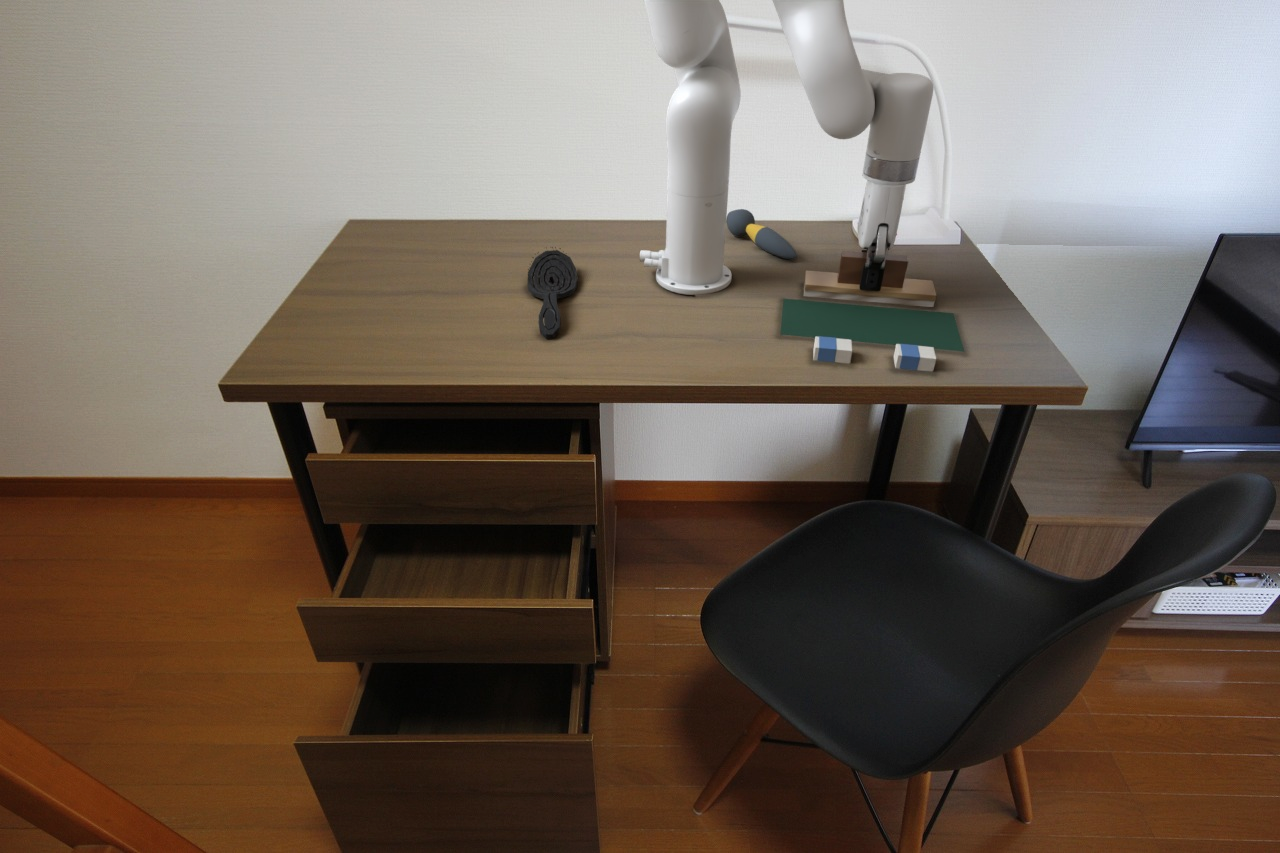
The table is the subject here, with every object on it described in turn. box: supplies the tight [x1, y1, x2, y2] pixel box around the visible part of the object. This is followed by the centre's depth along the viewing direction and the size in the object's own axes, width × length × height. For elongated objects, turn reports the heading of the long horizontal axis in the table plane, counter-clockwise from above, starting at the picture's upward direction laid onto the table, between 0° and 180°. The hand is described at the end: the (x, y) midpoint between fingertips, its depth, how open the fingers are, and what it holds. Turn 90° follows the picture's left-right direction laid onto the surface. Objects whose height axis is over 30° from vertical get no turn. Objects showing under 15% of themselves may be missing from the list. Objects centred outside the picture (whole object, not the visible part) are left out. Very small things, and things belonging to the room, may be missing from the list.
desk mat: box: [779, 298, 966, 353], centre depth 117 cm, size 26×12×1 cm, turn 79°
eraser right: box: [893, 344, 937, 372], centre depth 107 cm, size 5×3×2 cm, turn 80°
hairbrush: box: [527, 246, 579, 340], centre depth 123 cm, size 8×4×25 cm
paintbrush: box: [726, 208, 798, 261], centre depth 141 cm, size 20×5×5 cm, turn 38°
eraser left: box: [812, 336, 853, 364], centre depth 109 cm, size 5×3×2 cm, turn 80°
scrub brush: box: [803, 250, 938, 308], centre depth 123 cm, size 20×5×7 cm, turn 79°
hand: (868, 280), depth 124 cm, fingers open, 5 cm apart
